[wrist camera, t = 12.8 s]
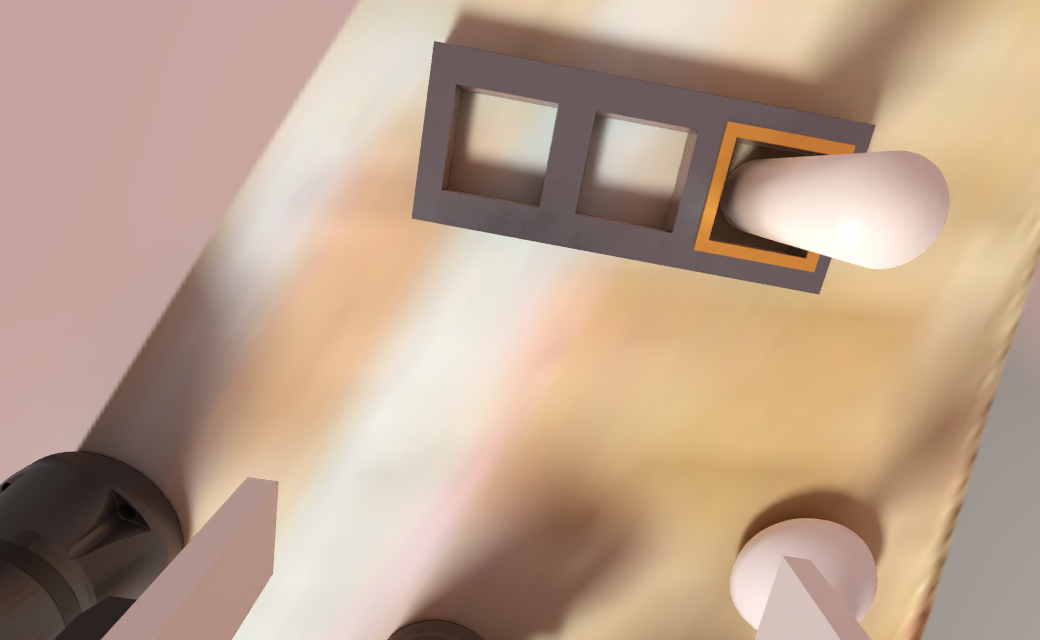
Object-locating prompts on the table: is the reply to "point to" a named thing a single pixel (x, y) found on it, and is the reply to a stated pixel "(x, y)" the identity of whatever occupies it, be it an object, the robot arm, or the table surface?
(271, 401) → the table surface
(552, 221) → the rail
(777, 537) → the flower in vase
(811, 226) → the pin
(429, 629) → the beer stein
